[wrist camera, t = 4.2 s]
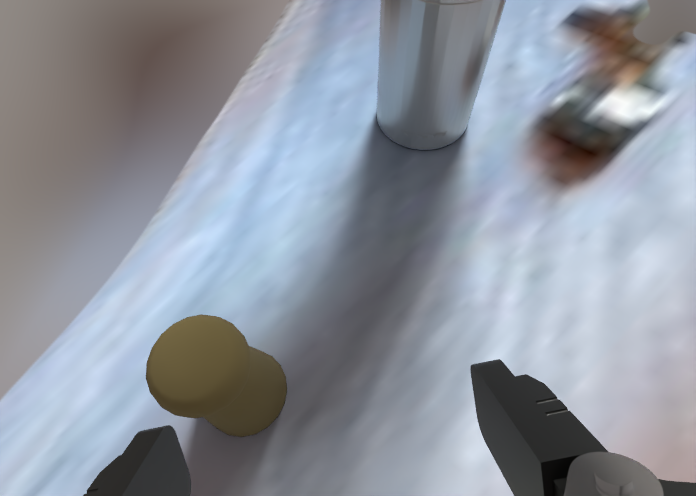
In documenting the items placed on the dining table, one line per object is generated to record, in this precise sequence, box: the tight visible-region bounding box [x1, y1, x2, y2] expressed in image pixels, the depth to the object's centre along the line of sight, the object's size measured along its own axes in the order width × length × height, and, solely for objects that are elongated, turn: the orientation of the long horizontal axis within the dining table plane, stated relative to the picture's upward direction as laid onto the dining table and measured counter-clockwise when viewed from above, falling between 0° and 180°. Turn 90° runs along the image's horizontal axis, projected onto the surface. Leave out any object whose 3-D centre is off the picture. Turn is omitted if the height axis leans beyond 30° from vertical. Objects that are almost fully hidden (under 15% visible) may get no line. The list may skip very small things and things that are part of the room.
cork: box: [146, 315, 287, 437], centre depth 25 cm, size 6×6×11 cm
